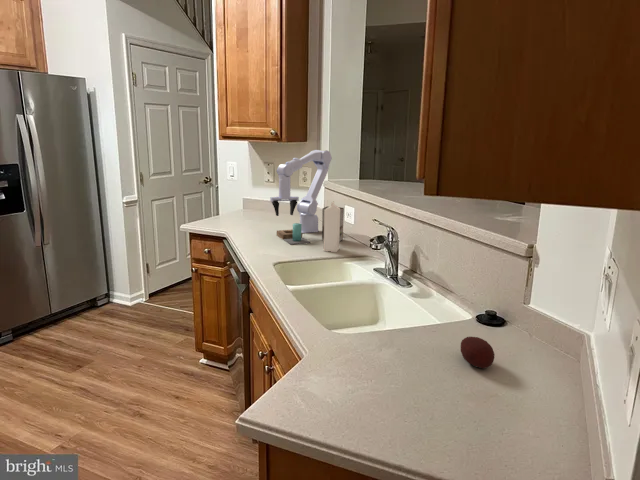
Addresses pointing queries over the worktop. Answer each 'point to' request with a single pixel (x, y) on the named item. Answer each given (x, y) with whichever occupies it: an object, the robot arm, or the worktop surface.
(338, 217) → the milk
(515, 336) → the worktop surface
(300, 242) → the mat
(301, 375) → the worktop surface
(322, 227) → the coffee box
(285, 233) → the socket block
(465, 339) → the potato
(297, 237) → the plug
